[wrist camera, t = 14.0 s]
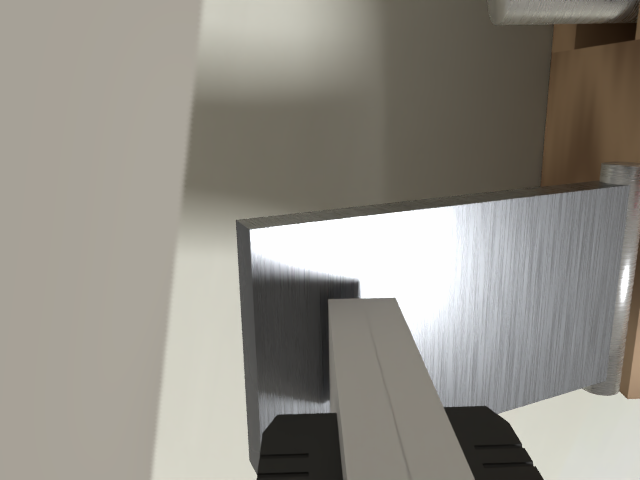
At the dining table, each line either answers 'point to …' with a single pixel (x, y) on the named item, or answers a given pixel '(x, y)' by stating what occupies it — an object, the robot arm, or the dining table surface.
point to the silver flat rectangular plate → (448, 292)
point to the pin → (562, 11)
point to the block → (596, 128)
